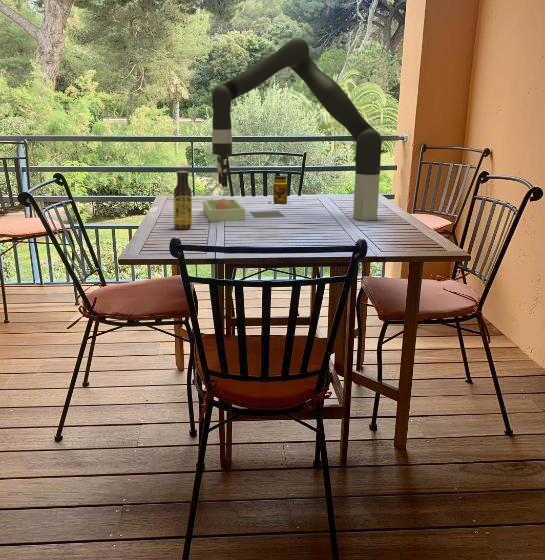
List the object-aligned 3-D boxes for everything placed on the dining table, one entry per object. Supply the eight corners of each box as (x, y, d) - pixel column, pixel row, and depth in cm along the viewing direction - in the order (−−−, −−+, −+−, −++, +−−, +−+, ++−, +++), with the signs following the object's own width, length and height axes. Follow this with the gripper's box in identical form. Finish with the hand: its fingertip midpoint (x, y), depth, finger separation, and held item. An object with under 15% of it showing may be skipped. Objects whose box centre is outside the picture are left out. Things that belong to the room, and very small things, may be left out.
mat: (285, 217, 224) (285, 216, 223) (254, 218, 221) (254, 217, 221) (278, 211, 235) (278, 210, 235) (249, 212, 232) (249, 211, 232)
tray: (245, 220, 217) (245, 209, 216) (209, 222, 214) (209, 210, 213) (235, 209, 238) (235, 199, 236) (203, 211, 235) (203, 200, 234)
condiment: (276, 205, 248) (277, 177, 245) (267, 202, 255) (267, 175, 252) (291, 204, 252) (292, 176, 248) (282, 201, 259) (282, 174, 255)
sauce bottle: (175, 230, 201) (172, 172, 195) (173, 226, 207) (170, 170, 201) (193, 229, 203) (191, 172, 197) (191, 225, 209) (189, 170, 203)
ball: (232, 215, 224) (232, 200, 222) (216, 216, 223) (216, 200, 221) (229, 212, 229) (229, 197, 228) (214, 213, 228) (214, 198, 226)
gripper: (235, 143, 212) (235, 187, 217) (229, 140, 225) (229, 182, 230) (214, 143, 210) (215, 188, 215) (209, 140, 223) (211, 182, 228)
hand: (222, 185), depth 222 cm, fingers open, 8 cm apart
